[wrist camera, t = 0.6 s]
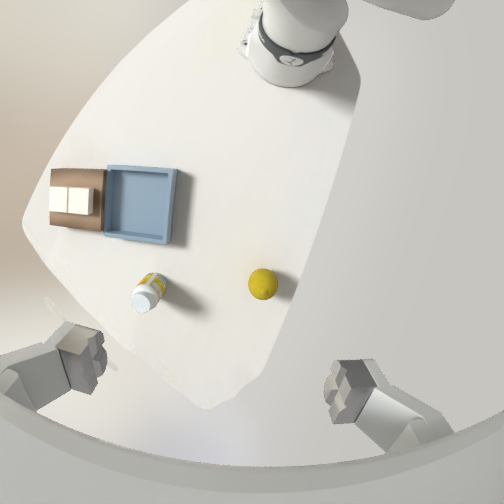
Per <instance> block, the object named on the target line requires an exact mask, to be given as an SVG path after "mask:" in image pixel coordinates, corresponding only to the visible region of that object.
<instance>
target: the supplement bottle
mask: <svg viewBox="0 0 504 504" xmlns="http://www.w3.org/2000/svg"><path fill="white" fill-rule="evenodd" d="M165 290H166V281H165V279H164V278H163V277H162V276H161V275H160V274H158V273H149V274H147V275H146V276H145V277H144V278H143V279H142V281H141V282H140V283H139V284H138V285H137V286H136V287H135V289H134V290H133V296H132V298H131V306H132V308H133V309H134V310H135V311H136V312H138V313H146V312H148V311H149V310H150V309H153V308H154V307H155V306H156V305H157V304H158V302H159V300H160V299H161V297H162V295H163V294H164V292H165Z"/></svg>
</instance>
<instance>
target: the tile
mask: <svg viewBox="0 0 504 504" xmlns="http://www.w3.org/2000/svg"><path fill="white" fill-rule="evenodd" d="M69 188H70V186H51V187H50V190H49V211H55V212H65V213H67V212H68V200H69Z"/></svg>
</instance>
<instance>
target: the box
mask: <svg viewBox="0 0 504 504" xmlns="http://www.w3.org/2000/svg"><path fill="white" fill-rule="evenodd" d="M177 170H178V169H170V168H157V167H143V166H126V165H108V166H107V177H106V190H105V209H104V235H105V236H106V237H114V238H121V239H128V240H135V241H143V242H150V243H157V244H165V245H166V244H167V243H168V242H169V241H170V240H171V229H172V217H173V206H174V196H175V187H176V178H177Z"/></svg>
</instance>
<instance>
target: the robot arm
mask: <svg viewBox="0 0 504 504" xmlns="http://www.w3.org/2000/svg"><path fill="white" fill-rule="evenodd" d="M364 1H366V2H369V3H372V4H374V5H376V6H379V7H381V8H384V9H387V10H391V11H394V12H397V13H400V14H403V15H407V16H410V17H413V18H416V19H420V20H430V19H434V18H436V17H439V16H441V15H443V14H444V13H445V12H447V11H448V10H449V9H450V7H451V6H452V4H453V3H454V1H455V0H364ZM347 18H348V5H347V2H346V0H263V1H261V2H260V4H259V6H258V8H257V9H254V11H253V14H252V19H251V21H250V23H249V25H248V27H247V29H246V31H245V33H244V35H243V37H242V40H241V42H240V44H239V46H238V52H239V54H241V55H242V56H243V57H244V58H246V59H247V60H248V61H249V62H250V64H251V66H252V67H253V69H254V70H255V72H256V73H257V74H258V75H259V76H260V77H261V78H263V79H264V80H266V81H268V82H270V83H272V84H274V85H278V86H282V87H297V86H301V85H304V84H307V83H309V82H310V81H312V80H313V79H314V78H315V77H316V76H317V75H319V74H320V73H323V72H327V71H329V70H331V69H332V67H333V59H332V56H333V54H334V50H333V48H332V45H333V43H334V40H335V38H336V34H337V33H338V32H339V30H340V29H341V28H342V26H343V25H344V24H345V22H346V21H347ZM244 44H247V45H244ZM103 343H104V336H103V333H102V332H101V331H98V330H95V329H91V328H88V327H84V326H81V325H77V324H74V323H70V322H64V323H63V324H62V326H61V327H59V328H58V330H57V331H56V332H55V333H54V334H53V335H52V336H51V337H50V338H49V339H48V340H47V341H46V342H45V343H44V344H43V343H38V344H35V345H32V346H29V347H26V348H22V349H19V350H16V351H13V352H10V353H7V354H4V355H1V356H0V504H504V410H503V411H502V412H500V413H498V414H496V415H494V416H492V417H490V418H488V419H486V420H484V421H482V422H480V423H477V424H475V425H473V426H471V427H468V428H466V429H464V430H461V431H459V432H456V433H454V432H453V430H452V428H451V427H450V425H449V424H448V422H447V421H446V419H445V418H444V416H443V415H442V413H441V412H439V411H438V410H436V409H434V408H432V407H430V406H429V405H427V404H425V403H423V402H422V401H420V400H418V399H416V398H415V397H413V396H411V395H409V394H408V393H406V392H404V391H403V390H401V389H399V388H397V387H396V386H390V384H389V382H388V381H387V379H386V377H385V376H384V374H383V373H382V371H381V369H380V368H379V366H378V365H377V363H376V361H375V360H373V359H360V360H335V361H334V362H333V364H332V366H331V371H332V374H331V375H330V376H329V377H328V378H327V379H326V382H325V385H324V398H325V401H326V402H327V403H328V404H329V405H330V406H331V407H330V409H329V413H330V416H331V419H332V423H333V424H344V423H355V425H356V426H357V427H358V428H360V429H361V430H362V431H363V432H364V433H365V434H366V435H367V436H368V437H370V438H371V439H372V440H373V441H374V442H375V443H376V444H377V445H378V446H380V447H381V448H382V449H383V450H384V451H385V452H386V453H385V454H384V455H380V456H374V457H369V458H364V459H359V460H352V461H345V462H338V463H330V464H321V465H309V466H290V467H247V466H231V465H219V464H209V463H201V462H193V461H187V460H181V459H175V458H170V457H164V456H159V455H154V454H151V453H146V452H142V451H138V450H134V449H131V448H127V447H123V446H120V445H116V444H113V443H110V442H107V441H104V440H101V439H98V438H95V437H92V436H89V435H87V434H84V433H81V432H79V431H76V430H74V429H71V428H69V427H66V426H64V425H62V424H59V423H57V422H55V421H52V420H51V419H48V418H46V417H44V416H42V415H40V414H38V413H37V412H36V410H38V409H40V408H42V407H43V406H45V405H47V404H48V403H50V402H52V401H53V400H55V399H57V398H58V397H60V396H62V395H63V394H65V393H67V392H68V391H70V390H71V389H74V390H77V391H80V392H83V393H86V394H89V395H91V394H92V392H93V391H94V389H95V387H96V385H97V384H98V382H97V377H99V376H101V375H103V373H104V371H105V369H106V365H107V354H106V351H105V349H104V348H103V346H102V344H103Z"/></svg>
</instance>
